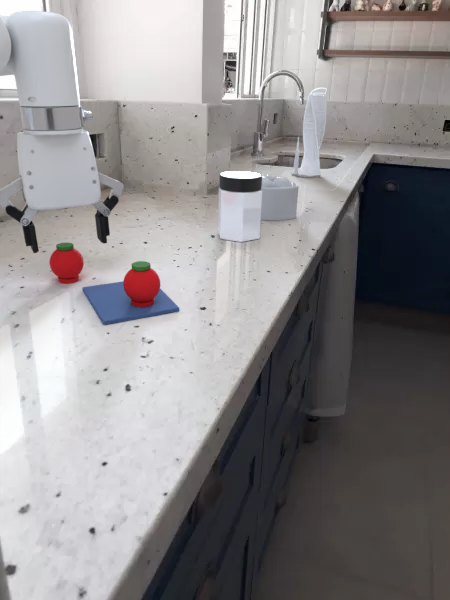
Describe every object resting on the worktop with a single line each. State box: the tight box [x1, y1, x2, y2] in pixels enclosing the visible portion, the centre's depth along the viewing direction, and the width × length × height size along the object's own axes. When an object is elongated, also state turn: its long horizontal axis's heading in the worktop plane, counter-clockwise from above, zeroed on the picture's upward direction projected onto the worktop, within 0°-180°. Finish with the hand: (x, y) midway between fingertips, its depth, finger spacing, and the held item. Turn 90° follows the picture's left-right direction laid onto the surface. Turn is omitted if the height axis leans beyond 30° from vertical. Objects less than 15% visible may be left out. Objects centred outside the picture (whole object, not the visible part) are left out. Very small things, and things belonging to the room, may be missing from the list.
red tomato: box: [49, 242, 85, 284], centre depth 71 cm, size 5×5×6 cm
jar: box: [217, 170, 263, 243], centre depth 94 cm, size 9×8×12 cm
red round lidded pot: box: [123, 260, 161, 307], centre depth 63 cm, size 5×5×5 cm
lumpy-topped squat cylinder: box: [261, 174, 299, 221], centre depth 111 cm, size 10×13×9 cm
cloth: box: [82, 280, 180, 326], centre depth 66 cm, size 10×12×1 cm
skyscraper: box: [291, 86, 328, 179], centre depth 161 cm, size 8×8×28 cm
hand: (69, 245), depth 70 cm, fingers open, 9 cm apart
